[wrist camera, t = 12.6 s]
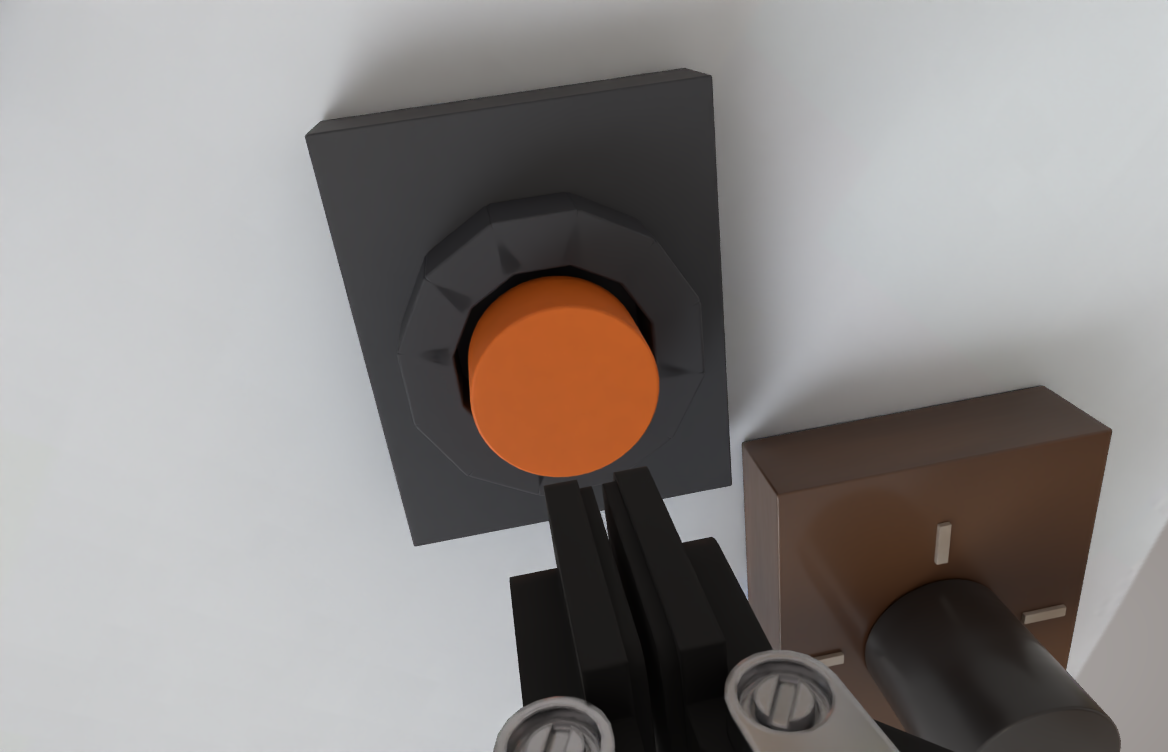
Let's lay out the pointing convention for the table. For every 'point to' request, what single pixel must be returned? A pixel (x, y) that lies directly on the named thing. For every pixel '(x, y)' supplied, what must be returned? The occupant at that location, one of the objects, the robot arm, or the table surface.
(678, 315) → the switch base
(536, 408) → the switch
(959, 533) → the dial panel
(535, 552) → the table surface
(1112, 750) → the dial
